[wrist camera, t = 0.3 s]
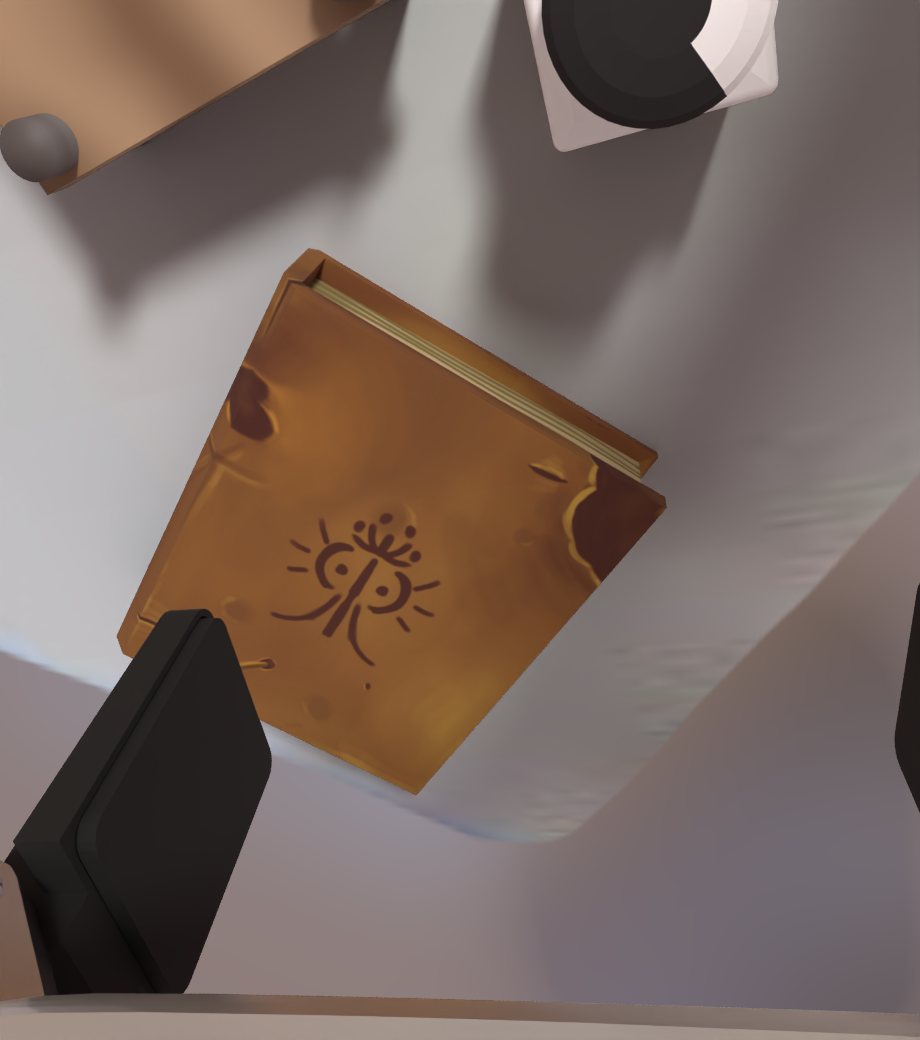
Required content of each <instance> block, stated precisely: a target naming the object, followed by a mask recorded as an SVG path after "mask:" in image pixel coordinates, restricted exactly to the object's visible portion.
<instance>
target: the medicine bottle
mask: <svg viewBox="0 0 920 1040" xmlns="http://www.w3.org/2000/svg"><path fill="white" fill-rule="evenodd" d="M778 1H779V0H524V5H525V10H526V15H527V19H528V24H529V29H530V34H531V39H532V43H533V48H534V53H535V58H536V63H537V67H538V72H539V77H540V82H541V87H542V92H543V96H544V101H545V106H546V111H547V116H548V120H549V125H550V130H551V135H552V140H553V144H554V146H555V148H556V149H558V150H559V151H561V152H567V151H571V150H574V149H578V148H581V147H585V146H589V145H592V144H596V143H599V142H603V141H606V140H610V139H614V138H617V137H621V136H624V135H628V134H631V133H635V132H639V131H642V130H646V129H655V128H663V127H669V126H673V125H676V124H680V123H684V122H686V121H688V120H691V119H693V118H695V117H697V116H699V115H701V114H703V113H707V112H710V111H714V110H717V109H721V108H724V107H728V106H732V105H735V104H739V103H742V102H746V101H749V100H753V99H757V98H760V97H764V96H767V95H769V94H771V93H773V92H774V90H775V89H776V87H777V86H778V80H779V78H778V66H777V54H776V42H775V30H774V19H775V15H776V10H777V6H778Z"/></svg>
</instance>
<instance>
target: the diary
mask: <svg viewBox="0 0 920 1040" xmlns="http://www.w3.org/2000/svg"><path fill="white" fill-rule="evenodd" d="M657 458H658V454H657V452H655V451H654V450H652V449H650V448H649V447H647V446H645V445H644V444H642V443H640V442H639V441H637V440H635V439H634V438H632V437H630V436H629V435H627V434H625V433H624V432H622V431H620V430H619V429H617V428H615V427H614V426H612V425H610V424H609V423H607V422H605V421H603V420H602V419H600V418H598V417H597V416H595V415H593V414H592V413H590V412H588V411H587V410H585V409H583V408H582V407H580V406H578V405H577V404H575V403H573V402H572V401H570V400H568V399H567V398H565V397H563V396H562V395H560V394H558V393H557V392H555V391H553V390H552V389H550V388H548V387H547V386H545V385H543V384H542V383H540V382H538V381H537V380H535V379H533V378H532V377H530V376H528V375H527V374H525V373H523V372H522V371H520V370H518V369H517V368H515V367H513V366H512V365H510V364H508V363H507V362H505V361H503V360H502V359H500V358H498V357H497V356H495V355H493V354H492V353H490V352H488V351H487V350H485V349H483V348H482V347H480V346H478V345H477V344H475V343H473V342H472V341H470V340H468V339H467V338H465V337H463V336H462V335H460V334H458V333H457V332H455V331H453V330H452V329H450V328H448V327H447V326H445V325H443V324H442V323H440V322H438V321H437V320H435V319H433V318H432V317H430V316H428V315H426V314H425V313H423V312H421V311H420V310H418V309H416V308H415V307H413V306H411V305H410V304H408V303H406V302H405V301H403V300H401V299H400V298H398V297H396V296H395V295H393V294H391V293H390V292H388V291H386V290H385V289H383V288H381V287H380V286H378V285H376V284H375V283H373V282H371V281H370V280H368V279H366V278H365V277H363V276H361V275H360V274H358V273H356V272H355V271H353V270H351V269H350V268H348V267H346V266H345V265H343V264H341V263H340V262H338V261H336V260H335V259H333V258H331V257H330V256H328V255H326V254H325V253H323V252H321V251H319V250H314V249H310V248H309V249H308V250H306V251H305V252H304V253H303V254H302V255H301V256H300V257H299V258H298V259H297V260H296V261H295V262H294V263H293V264H292V265H291V266H290V267H289V268H288V269H287V270H286V271H285V272H284V273H283V276H282V278H281V280H280V282H279V284H278V286H277V289H276V291H275V293H274V295H273V297H272V299H271V302H270V304H269V306H268V308H267V310H266V312H265V315H264V317H263V319H262V321H261V323H260V325H259V328H258V330H257V332H256V334H255V336H254V339H253V341H252V343H251V345H250V347H249V349H248V352H247V354H246V356H245V358H244V360H243V362H242V365H241V367H240V369H239V371H238V373H237V375H236V378H235V380H234V382H233V384H232V386H231V388H230V391H229V393H228V395H227V397H226V399H225V402H224V404H223V406H222V408H221V410H220V412H219V415H218V417H217V419H216V421H215V423H214V425H213V428H212V430H211V432H210V434H209V436H208V438H207V441H206V443H205V445H204V447H203V449H202V451H201V454H200V456H199V458H198V460H197V462H196V465H195V467H194V469H193V471H192V473H191V475H190V478H189V480H188V482H187V484H186V486H185V488H184V491H183V493H182V495H181V497H180V499H179V501H178V504H177V506H176V508H175V510H174V512H173V515H172V517H171V519H170V521H169V523H168V525H167V528H166V530H165V532H164V534H163V536H162V538H161V541H160V543H159V545H158V547H157V549H156V551H155V554H154V556H153V558H152V560H151V562H150V564H149V567H148V569H147V571H146V573H145V575H144V578H143V580H142V582H141V584H140V586H139V588H138V591H137V593H136V595H135V597H134V599H133V601H132V604H131V606H130V608H129V610H128V612H127V614H126V617H125V619H124V621H123V623H122V625H121V627H120V630H119V632H118V634H117V639H118V641H119V644H120V647H121V650H122V652H123V654H124V655H127V656H129V657H131V658H134V657H135V655H136V654H137V652H138V651H139V649H140V648H141V646H142V645H143V643H144V642H145V640H146V639H147V637H148V636H149V634H150V633H151V631H152V630H153V628H154V627H155V625H156V624H157V622H158V621H159V619H160V617H161V616H162V615H163V614H164V613H165V612H167V611H170V610H186V609H207V610H209V611H210V612H211V613H212V615H213V617H214V618H220V619H222V620H223V621H224V623H225V625H226V628H227V630H228V633H229V636H230V639H231V642H232V644H233V647H234V650H235V653H236V656H237V658H238V661H239V664H240V667H241V669H242V672H243V675H244V678H245V681H246V683H247V686H248V689H249V692H250V694H251V697H252V700H253V703H254V706H255V708H256V711H257V714H258V717H259V720H261V721H263V722H266V723H268V724H270V725H272V726H274V727H276V728H278V729H280V730H282V731H284V732H286V733H288V734H290V735H292V736H295V737H297V738H299V739H301V740H303V741H305V742H307V743H309V744H311V745H313V746H315V747H317V748H319V749H322V750H324V751H326V752H328V753H330V754H332V755H334V756H336V757H338V758H340V759H342V760H344V761H346V762H348V763H351V764H353V765H355V766H357V767H359V768H361V769H363V770H365V771H367V772H369V773H371V774H373V775H375V776H378V777H380V778H382V779H384V780H386V781H388V782H390V783H392V784H394V785H396V786H398V787H400V788H402V789H404V790H407V791H409V792H411V793H413V794H415V795H417V794H418V793H419V791H420V790H421V789H422V788H423V787H424V786H425V785H426V783H427V782H428V781H429V780H430V779H431V778H432V777H433V775H434V774H435V773H436V772H437V771H438V770H439V769H440V767H441V766H442V765H443V764H444V763H445V762H446V760H447V759H448V758H449V757H450V756H451V755H452V754H453V752H454V751H455V750H456V749H457V748H458V747H459V746H460V744H461V743H462V742H463V741H464V740H465V739H466V738H467V736H468V735H469V734H470V733H471V732H472V731H473V730H474V728H475V727H476V726H477V725H478V724H479V723H480V721H481V720H482V719H483V718H484V717H485V716H486V715H487V713H488V712H489V711H490V710H491V709H492V708H493V707H494V705H495V704H496V703H497V702H498V701H499V700H500V699H501V697H502V696H503V695H504V694H505V693H506V692H507V690H508V689H509V688H510V687H511V686H512V685H513V684H514V682H515V681H516V680H517V679H518V678H519V677H520V676H521V674H522V673H523V672H524V671H525V670H526V669H527V668H528V666H529V665H530V664H531V663H532V662H533V661H534V659H535V658H536V657H537V656H538V655H539V654H540V653H541V651H542V650H543V649H544V648H545V647H546V646H547V645H548V643H549V642H550V641H551V640H552V639H553V638H554V637H555V635H556V634H557V633H558V632H559V631H560V630H561V628H562V627H563V626H564V625H565V624H566V623H567V622H568V620H569V619H570V618H571V617H572V616H573V615H574V614H575V612H576V611H577V610H578V609H579V608H580V607H581V606H582V604H583V603H584V602H585V601H586V600H587V599H588V597H589V596H590V595H591V594H592V593H593V592H594V591H595V589H596V588H597V587H598V586H599V585H600V584H601V583H602V581H603V580H604V579H605V578H606V577H607V576H608V575H609V573H610V572H611V571H612V570H613V569H614V568H615V566H616V565H617V564H618V563H619V562H620V561H621V560H622V558H623V557H624V556H625V555H626V554H627V553H628V552H629V550H630V549H631V548H632V547H633V546H634V545H635V544H636V542H637V541H638V540H639V539H640V538H641V537H642V536H643V534H644V533H645V532H646V531H647V530H648V529H649V527H650V526H651V525H652V524H653V523H654V522H655V521H656V519H657V518H658V517H659V516H660V515H661V514H662V513H663V511H664V510H665V509H666V508H667V507H666V501H665V497H664V496H662V495H660V494H659V493H657V492H655V491H654V490H652V489H650V488H648V487H647V486H645V485H643V484H642V481H641V478H642V476H643V475H644V474H645V473H646V472H647V470H648V469H649V468H650V467H651V466H652V464H653V463H654V462H655V461H656V460H657Z"/></svg>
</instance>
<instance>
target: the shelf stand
mask: <svg viewBox="0 0 920 1040" xmlns="http://www.w3.org/2000/svg"><path fill="white" fill-rule="evenodd" d="M388 1H390V0H0V125H1V126H2V128H3V129H2V131H1V134H0V149H1V153H2V155H3V158H4V160H5V161H6V163H7V165H8V166H9V167H10V168H11V169H12V171H13V172H15V173H16V174H17V175H18V176H20V177H21V178H23V179H25V180H28V181H32V182H39V183H40V185H41V186H42V188H43V189H44V191H45V192H46V194H47V195H49V194H52V193H54V192H57V191H59V190H62V189H64V188H67V187H69V186H71V185H72V184H74V183H76V182H78V181H79V180H81V179H83V178H84V177H86V176H88V175H90V174H91V173H93V172H95V171H96V170H98V169H100V168H102V167H103V166H105V165H107V164H109V163H110V162H112V161H114V160H115V159H117V158H119V157H121V156H122V155H124V154H126V153H128V152H129V151H131V150H133V149H134V148H136V147H139V146H141V145H144V144H146V143H147V142H148V141H149V140H150V139H152V138H153V137H155V136H157V135H159V134H160V133H162V132H164V131H165V130H167V129H169V128H171V127H172V126H174V125H176V124H178V123H179V122H181V121H183V120H184V119H186V118H188V117H190V116H191V115H193V114H195V113H197V112H198V111H200V110H202V109H203V108H205V107H207V106H209V105H210V104H212V103H214V102H216V101H217V100H219V99H221V98H222V97H224V96H226V95H228V94H229V93H231V92H233V91H234V90H236V89H238V88H240V87H241V86H243V85H245V84H247V83H248V82H250V81H252V80H253V79H255V78H257V77H259V76H260V75H262V74H264V73H266V72H267V71H269V70H271V69H272V68H274V67H276V66H278V65H279V64H281V63H283V62H285V61H286V60H288V59H290V58H291V57H293V56H295V55H297V54H298V53H300V52H302V51H303V50H305V49H307V48H309V47H310V46H312V45H314V44H316V43H317V42H319V41H321V40H322V39H324V38H326V37H328V36H329V35H331V34H333V33H335V32H336V31H338V30H340V29H341V28H343V27H345V26H347V25H348V24H350V23H352V22H354V21H355V20H357V19H359V18H360V17H362V16H364V15H366V14H367V13H369V12H371V11H372V10H374V9H376V8H378V7H379V6H381V5H383V4H385V3H386V2H388Z"/></svg>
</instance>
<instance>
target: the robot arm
mask: <svg viewBox="0 0 920 1040" xmlns="http://www.w3.org/2000/svg"><path fill="white" fill-rule="evenodd" d="M895 749H896V755H897V759H898V762H899V765H900V767H901V770H902V772H903V774H904V777H905V779H906V781H907V784H908V786H909V788H910V791H911V793H912V796H913V798H914V800H915V803H916V805H917V807H918V810H919V812H920V584H919V586H918V589H917V594H916V601H915V607H914V614H913V620H912V627H911V633H910V639H909V646H908V653H907V659H906V665H905V672H904V678H903V685H902V691H901V698H900V705H899V711H898V717H897V724H896V730H895ZM271 759H272V758H271V751H270V747H269V745H268V742H267V739H266V736H265V733H264V731H263V728H262V725H261V722H260V720H259V717H258V714H257V711H256V708H255V706H254V703H253V700H252V697H251V694H250V692H249V689H248V686H247V683H246V681H245V678H244V675H243V672H242V669H241V667H240V664H239V661H238V658H237V656H236V653H235V650H234V647H233V644H232V642H231V639H230V636H229V633H228V630H227V628H226V625H225V623H224V621H223V620H222V619H220V618H214V617H213V615H212V613H211V612H210V611H209V610H207V609H186V610H170V611H167V612H165V613H164V614H163V615H162V616H161V617H160V619H159V621H158V622H157V624H156V625H155V627H154V628H153V630H152V631H151V633H150V634H149V636H148V637H147V639H146V640H145V642H144V643H143V645H142V646H141V648H140V649H139V651H138V652H137V654H136V655H135V657H134V658H133V660H132V662H131V663H130V665H129V666H128V668H127V669H126V671H125V672H124V674H123V675H122V677H121V678H120V680H119V681H118V683H117V684H116V686H115V687H114V689H113V690H112V692H111V693H110V695H109V697H108V698H107V699H106V701H105V702H104V704H103V706H102V707H101V709H100V710H99V712H98V713H97V715H96V716H95V718H94V719H93V721H92V722H91V724H90V725H89V727H88V728H87V730H86V731H85V733H84V734H83V736H82V737H81V739H80V740H79V742H78V744H77V745H76V747H75V748H74V750H73V751H72V753H71V754H70V756H69V757H68V759H67V760H66V762H65V763H64V765H63V766H62V768H61V769H60V771H59V772H58V774H57V775H56V777H55V778H54V780H53V781H52V783H51V784H50V786H49V788H48V789H47V791H46V792H45V794H44V795H43V797H42V798H41V800H40V801H39V803H38V804H37V806H36V807H35V809H34V810H33V812H32V813H31V815H30V816H29V818H28V819H27V821H26V822H25V824H24V826H23V827H22V829H21V830H20V832H19V833H18V835H17V836H16V838H15V839H14V841H13V842H14V844H15V846H14V848H13V849H12V851H11V852H10V854H9V856H8V857H7V858H6V860H5V861H4V862H3V861H1V860H0V1040H920V1015H913V1014H893V1013H872V1012H850V1011H849V1012H848V1011H817V1010H788V1009H758V1008H756V1009H755V1008H728V1007H725V1008H724V1007H696V1006H665V1005H635V1004H601V1003H564V1002H530V1001H527V1002H526V1001H494V1000H456V999H417V998H378V997H375V998H374V997H332V996H327V997H326V996H287V995H240V994H183V993H184V991H185V990H186V989H187V987H188V985H189V983H190V981H191V978H192V975H193V973H194V970H195V968H196V965H197V962H198V960H199V957H200V955H201V952H202V949H203V947H204V944H205V942H206V939H207V937H208V934H209V931H210V929H211V926H212V924H213V921H214V918H215V916H216V913H217V911H218V908H219V905H220V903H221V900H222V898H223V895H224V892H225V890H226V887H227V884H228V882H229V879H230V877H231V874H232V872H233V869H234V867H235V864H236V861H237V859H238V856H239V853H240V851H241V848H242V846H243V843H244V840H245V838H246V835H247V833H248V830H249V827H250V825H251V822H252V820H253V817H254V815H255V812H256V809H257V807H258V804H259V801H260V799H261V796H262V794H263V791H264V789H265V786H266V783H267V781H268V778H269V775H270V772H271V761H272V760H271Z"/></svg>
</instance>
